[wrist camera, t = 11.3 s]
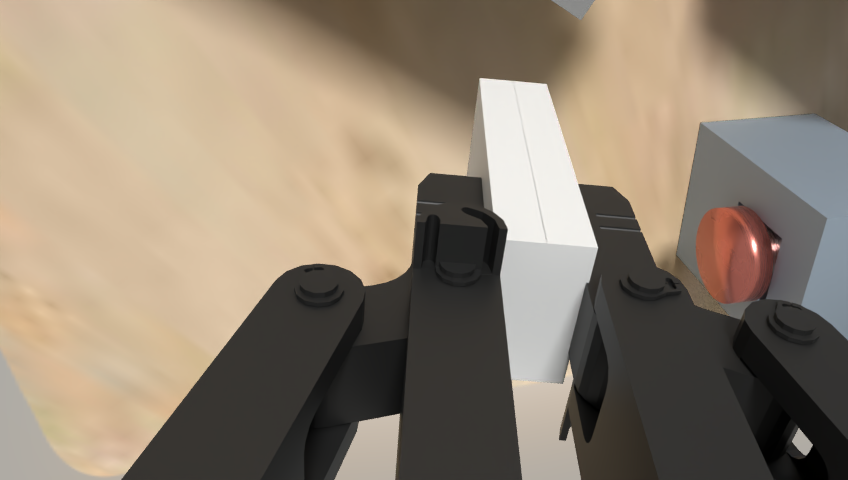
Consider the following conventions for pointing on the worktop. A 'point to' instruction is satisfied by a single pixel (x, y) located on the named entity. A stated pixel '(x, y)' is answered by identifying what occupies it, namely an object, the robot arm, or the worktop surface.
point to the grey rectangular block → (780, 203)
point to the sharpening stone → (575, 6)
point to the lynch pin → (735, 254)
